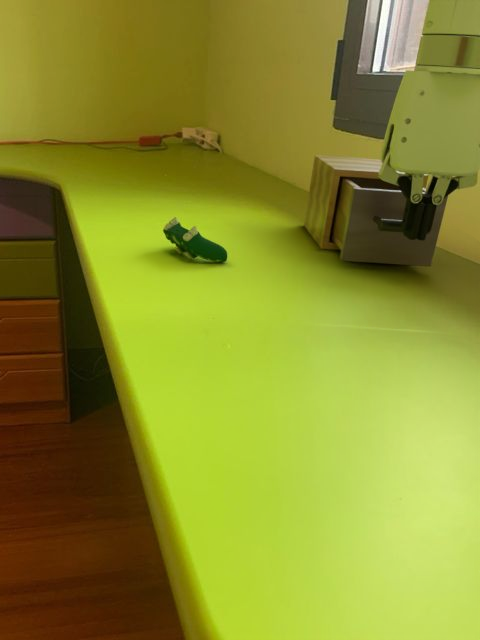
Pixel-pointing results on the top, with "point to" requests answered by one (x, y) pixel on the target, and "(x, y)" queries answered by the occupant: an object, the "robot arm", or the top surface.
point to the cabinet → (334, 191)
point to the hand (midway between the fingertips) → (413, 237)
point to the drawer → (378, 224)
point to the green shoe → (193, 242)
